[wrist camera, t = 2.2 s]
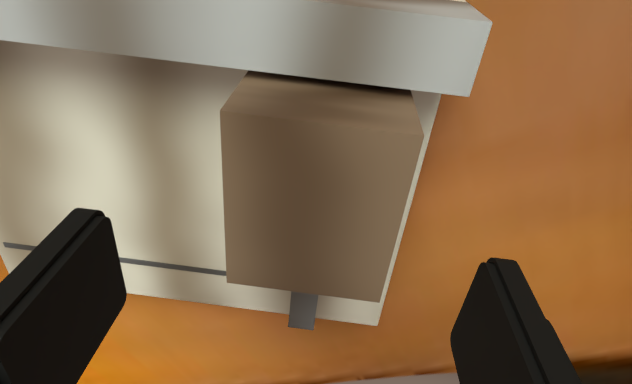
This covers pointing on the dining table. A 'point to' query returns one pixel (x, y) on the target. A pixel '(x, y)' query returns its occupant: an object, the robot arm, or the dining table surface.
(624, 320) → the dining table surface
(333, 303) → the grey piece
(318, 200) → the block
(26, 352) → the robot arm
